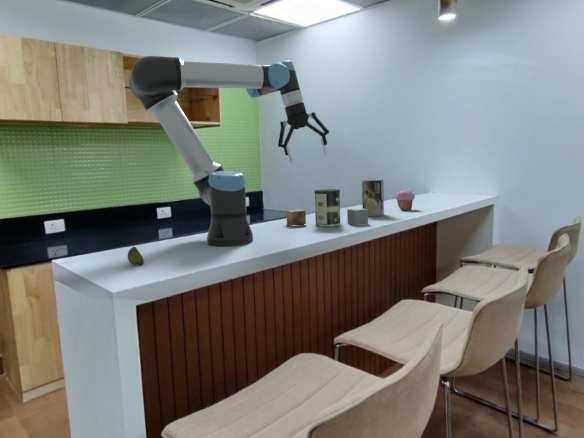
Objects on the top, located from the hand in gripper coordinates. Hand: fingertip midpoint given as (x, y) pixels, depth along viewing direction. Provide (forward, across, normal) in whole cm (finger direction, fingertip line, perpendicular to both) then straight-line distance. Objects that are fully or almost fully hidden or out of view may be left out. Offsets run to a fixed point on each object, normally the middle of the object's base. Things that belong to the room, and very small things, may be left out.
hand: (308, 158), depth 162 cm
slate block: (+31, -12, -2) cm, 33 cm away
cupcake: (+42, -32, -46) cm, 70 cm away
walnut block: (+25, +13, -1) cm, 28 cm away
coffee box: (+36, -17, -28) cm, 49 cm away
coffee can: (+28, 0, -1) cm, 28 cm away
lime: (+9, +42, +66) cm, 78 cm away
